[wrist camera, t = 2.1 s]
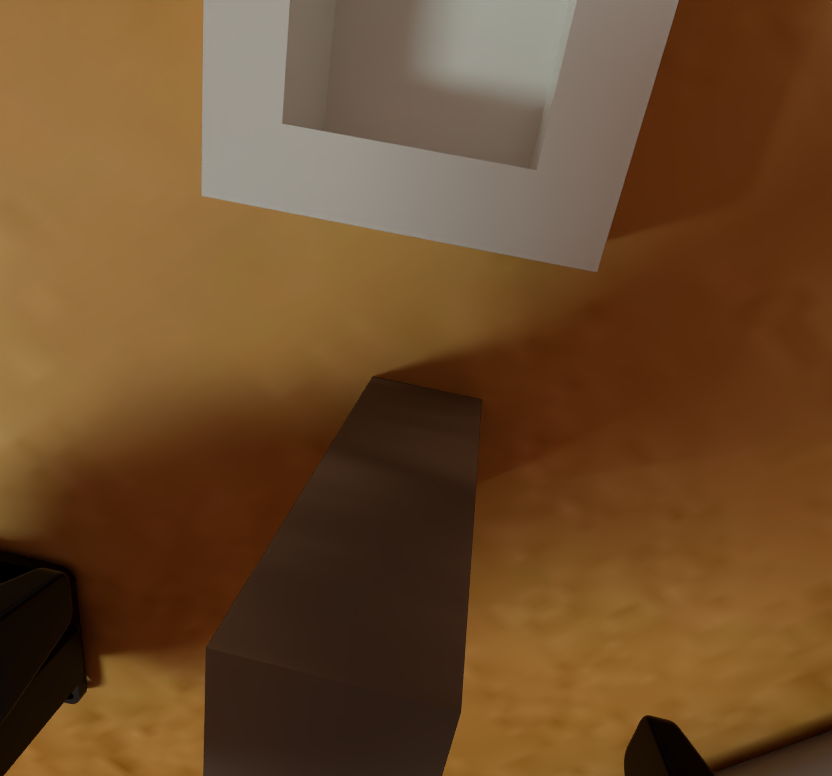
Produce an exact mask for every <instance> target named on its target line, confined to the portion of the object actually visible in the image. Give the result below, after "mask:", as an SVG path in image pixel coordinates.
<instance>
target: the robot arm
mask: <svg viewBox="0 0 832 776" xmlns="http://www.w3.org/2000/svg"><path fill="white" fill-rule="evenodd" d="M86 691H87V684H86V674H85V665H84V655H83V646H82V636H81V626H80V617H79V607H78V598H77V588H76V579H75V576H74V575H73V573H72V572H71V571H70V570H69V569H67V568H66V567H63V566H61V565H57V564H53V563H49V562H45V561H41V560H36V559H32V558H28V557H24V556H20V555H16V554H12V553H8V552H4V551H0V776H4V775H5V773H6V772H7V771H8V770H9V768H10V767H11V766H12V765H13V764H14V762H15V761H16V760H17V759H18V757H19V756H20V755H21V754H22V753H23V751H24V750H25V749H26V748H27V746H28V745H29V744H30V743H31V742H32V740H33V739H34V738H35V737H36V736H37V734H38V733H39V732H40V731H41V729H42V728H43V727H44V726H45V725H46V723H47V722H48V721H49V720H50V718H51V717H52V716H53V715H54V714H55V712H56V711H57V710H58V709H59V707H60V706H61V705H62V704H63V703H64V702H65V703H69V704H75V703H77V702H78V701H79V700H80V699H81V698H82V697H83V695H84V694H85V693H86ZM624 772H625V776H715V774H714V773H713V772H712V770H711V769H710V768H709V766H708V765H707V764H706V762H705V761H704V760H703V759H702V757H701V756H700V755H699V753H698V752H697V751H696V749H695V748H694V747H693V745H692V744H691V743H690V741H689V740H688V739H687V737H686V736H685V735H684V733H683V732H682V731H681V729H680V728H679V727H678V726H677V725H676V724H675V723H674V722H672V721H670V720H666V719H662V718H658V717H654V716H650V715H646V716H644V717H643V718H642V719H641V721H640V722H639V724H638V727H637V729H636V731H635V733H634V735H633V737H632V739H631V741H630V743H629V745H628V747H627V749H626V752H625V758H624Z"/></svg>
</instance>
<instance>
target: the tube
mask: <svg viewBox="0 0 832 776" xmlns="http://www.w3.org/2000/svg"><path fill="white" fill-rule="evenodd" d="M714 774H715V776H832V730H831V731H828V732H825V733H822V734H820V735H817V736H814V737H811V738H808V739H806V740H803V741H800V742H797V743H795V744H792V745H789V746H786V747H783V748H781V749H778V750H775V751H772V752H769V753H767V754H764V755H761V756H758V757H755V758H753V759H750V760H747V761H744V762H742V763H739V764H736V765H733V766H730V767H728V768H725V769H722V770H719V771H716V772H714Z"/></svg>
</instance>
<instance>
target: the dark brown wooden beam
mask: <svg viewBox="0 0 832 776" xmlns="http://www.w3.org/2000/svg"><path fill="white" fill-rule="evenodd" d="M481 403H482V400H481V399H476V398H471V397H466V396H462V395H457V394H452V393H448V392H443V391H438V390H434V389H429V388H424V387H419V386H415V385H410V384H405V383H401V382H396V381H391V380H386V379H382V378H377V377H372V378H371V380H370V382H369V383H368V385H367V386H366V388H365V390H364V391H363V393H362V395H361V396H360V398H359V400H358V401H357V403H356V404H355V406H354V408H353V409H352V411H351V413H350V414H349V416H348V417H347V419H346V421H345V422H344V424H343V426H342V427H341V429H340V430H339V432H338V434H337V435H336V437H335V439H334V440H333V442H332V443H331V445H330V447H329V448H328V450H327V452H326V453H325V455H324V456H323V458H322V460H321V461H320V463H319V465H318V466H317V468H316V470H315V471H314V473H313V474H312V476H311V478H310V479H309V481H308V483H307V484H306V486H305V487H304V489H303V491H302V492H301V494H300V496H299V497H298V499H297V500H296V502H295V504H294V505H293V507H292V509H291V510H290V512H289V513H288V515H287V517H286V518H285V520H284V522H283V523H282V525H281V526H280V528H279V530H278V531H277V533H276V535H275V536H274V538H273V539H272V541H271V543H270V544H269V546H268V548H267V549H266V551H265V553H264V554H263V556H262V557H261V559H260V561H259V562H258V564H257V566H256V567H255V569H254V570H253V572H252V574H251V575H250V577H249V579H248V580H247V582H246V583H245V585H244V587H243V588H242V590H241V592H240V593H239V595H238V596H237V598H236V600H235V601H234V603H233V605H232V606H231V608H230V609H229V611H228V613H227V614H226V616H225V618H224V619H223V621H222V623H221V624H220V626H219V627H218V629H217V631H216V632H215V634H214V636H213V637H212V639H211V640H210V642H209V644H208V645H207V647H206V672H205V721H204V770H203V776H442V774H443V771H444V767H445V764H446V761H447V757H448V754H449V751H450V747H451V744H452V740H453V737H454V734H455V730H456V727H457V724H458V720H459V717H460V714H461V705H462V690H463V675H464V660H465V644H466V629H467V614H468V599H469V584H470V569H471V554H472V539H473V524H474V509H475V494H476V479H477V464H478V449H479V434H480V419H481Z"/></svg>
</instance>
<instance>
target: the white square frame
mask: <svg viewBox="0 0 832 776" xmlns="http://www.w3.org/2000/svg"><path fill="white" fill-rule="evenodd" d="M678 2H679V0H204V17H203V109H202V196H206V197H211V198H216V199H221V200H226V201H231V202H237V203H242V204H247V205H252V206H257V207H262V208H267V209H273V210H278V211H283V212H288V213H293V214H298V215H304V216H309V217H314V218H319V219H324V220H329V221H334V222H340V223H345V224H350V225H355V226H360V227H365V228H371V229H376V230H381V231H386V232H391V233H396V234H401V235H407V236H412V237H417V238H422V239H427V240H432V241H438V242H443V243H448V244H453V245H458V246H463V247H468V248H474V249H479V250H484V251H489V252H494V253H499V254H504V255H510V256H515V257H520V258H525V259H530V260H535V261H541V262H546V263H551V264H556V265H561V266H566V267H571V268H577V269H582V270H587V271H592V272H597V271H598V267H599V264H600V261H601V257H602V254H603V251H604V247H605V244H606V241H607V237H608V234H609V231H610V227H611V224H612V221H613V218H614V214H615V211H616V208H617V204H618V201H619V198H620V194H621V191H622V188H623V184H624V181H625V178H626V174H627V171H628V168H629V164H630V161H631V158H632V154H633V151H634V148H635V145H636V141H637V138H638V135H639V131H640V128H641V125H642V121H643V118H644V115H645V111H646V108H647V105H648V101H649V98H650V95H651V91H652V88H653V85H654V82H655V78H656V75H657V72H658V68H659V65H660V62H661V58H662V55H663V52H664V48H665V45H666V42H667V38H668V35H669V32H670V28H671V25H672V22H673V19H674V15H675V12H676V9H677V5H678Z"/></svg>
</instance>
